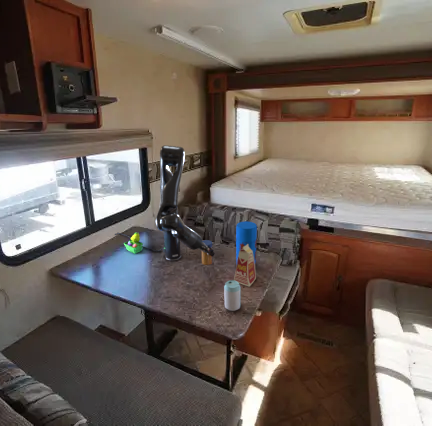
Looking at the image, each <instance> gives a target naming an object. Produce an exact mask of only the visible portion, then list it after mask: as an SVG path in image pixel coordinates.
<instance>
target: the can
mask: <svg viewBox="0 0 432 426" xmlns="http://www.w3.org/2000/svg"><path fill="white" fill-rule="evenodd" d="M241 289H242V288H241V284H240V283H238V282H237V281H234V279H231V280H228V281H226V282H225V284H224V286H223V290H224V291H223V295H224V308H225V309H227V310H228V311H231V312H235V311H238V310H239V309H240V308H241Z"/></svg>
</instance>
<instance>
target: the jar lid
mask: <svg viewBox="0 0 432 426" xmlns="http://www.w3.org/2000/svg"><path fill="white" fill-rule="evenodd" d="M202 242H203V243H205V245H207V246H209V247H210V248H211V247H212V248H213V242H212V240H208V239H205V240H202ZM205 247H206V246H205Z"/></svg>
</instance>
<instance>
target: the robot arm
mask: <svg viewBox="0 0 432 426" xmlns="http://www.w3.org/2000/svg"><path fill="white" fill-rule="evenodd" d="M185 157H186V155H185V149H184V147H182V146H179V145H178V146H176V145H168V144H167V145H162V146H161V147H160V151H159V167H160V179H159V205H158V211H157V214H156V217H155V226H156V229H157V230H158V231H160V232H163V241H164V242H163V247H161V248H160V249H152V248H149V247H146V246H144V245H143V246H142V249H145V250H149V251H151V252H157V253H158V252H161V251H162V253H163V254H164V257H165V259H166V260H167V261H171V262H173V261H179V260H181V258H182V250H181V249H182V248H181V243H182V245H184V246H186V247H187V248H189V249H190V250H191V251H197V250H198V251H200V252H201V251H203V252H204V253H208V254H209V255H211V256H212V258H213V257H214V256H215V254H216V253H215V252H214V249H213V247H212V248H210V247H209V246H207V245H205V243H203V242H202V241H203V237H202V236H201V235H199V234H198V233H197V232H196V231H194V230H193V229H191V228H190V227H189V226H188V225H186V224H185V223H184V221H183V219H182V218H181V217H180V215H179V207H178V206H179V193H180V187H181V181H182V177H183V169H184V164H185ZM169 167H173V168H174V167H175V171H174V173H173V172H172V171H171V169H170V168H169ZM116 233H117V234H116ZM116 233H114V235H115V236H116V235H121V236H125V237H127V238H129V239H131V237H132V236H130V235H127V234H124V233H122V232H116ZM205 246H206V247H205ZM204 249H205V250H204Z"/></svg>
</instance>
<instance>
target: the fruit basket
mask: <svg viewBox="0 0 432 426" xmlns="http://www.w3.org/2000/svg"><path fill="white" fill-rule="evenodd" d="M130 237H131V238H130V240H128V241H125V242H123V245H124V247H125V249H126V250H127V251H129V252H130V253H133V254H134V255H136V254H138V253H141V252H142V251H143V248H142V246H143V247H144V243H143V242H141V237H140V234H139V232H134V234H133V235H132V236H130Z"/></svg>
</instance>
